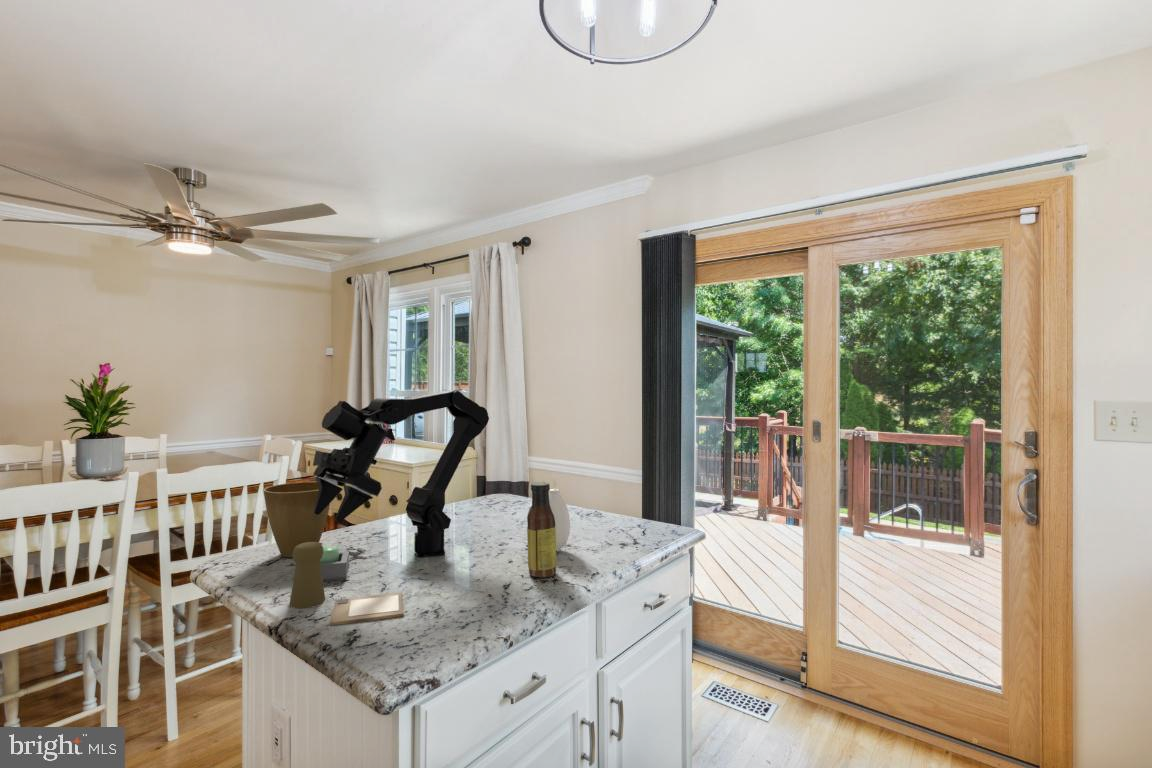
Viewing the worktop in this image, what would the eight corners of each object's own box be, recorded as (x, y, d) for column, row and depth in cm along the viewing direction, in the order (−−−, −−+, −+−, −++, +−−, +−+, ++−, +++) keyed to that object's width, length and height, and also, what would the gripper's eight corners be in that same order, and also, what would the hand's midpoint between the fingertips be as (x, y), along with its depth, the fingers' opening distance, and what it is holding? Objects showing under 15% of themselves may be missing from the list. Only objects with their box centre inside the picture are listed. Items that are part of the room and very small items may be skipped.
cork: (310, 609, 98) (311, 549, 98) (281, 606, 99) (282, 547, 99) (332, 596, 103) (332, 540, 103) (304, 593, 105) (305, 537, 105)
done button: (339, 558, 118) (339, 545, 118) (337, 565, 114) (338, 551, 114) (317, 560, 116) (317, 547, 116) (314, 567, 112) (315, 553, 112)
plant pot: (286, 544, 136) (287, 481, 137) (342, 545, 135) (344, 482, 136) (246, 561, 121) (248, 490, 122) (310, 563, 121) (312, 492, 121)
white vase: (551, 558, 127) (552, 483, 127) (531, 550, 133) (532, 478, 133) (575, 552, 132) (576, 479, 132) (555, 544, 138) (556, 474, 138)
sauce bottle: (560, 571, 119) (561, 481, 119) (550, 580, 113) (551, 487, 113) (533, 567, 121) (534, 479, 121) (521, 576, 115) (522, 484, 115)
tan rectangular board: (402, 594, 105) (402, 591, 105) (403, 616, 95) (403, 612, 95) (335, 602, 101) (335, 599, 101) (329, 625, 91) (329, 621, 91)
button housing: (349, 566, 120) (349, 551, 120) (346, 579, 113) (346, 562, 113) (309, 570, 118) (309, 554, 117) (303, 583, 110) (304, 566, 110)
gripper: (312, 430, 118) (272, 496, 112) (355, 436, 106) (312, 511, 100) (353, 452, 125) (318, 515, 119) (397, 460, 113) (361, 531, 107)
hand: (326, 517), depth 111 cm, fingers open, 9 cm apart
